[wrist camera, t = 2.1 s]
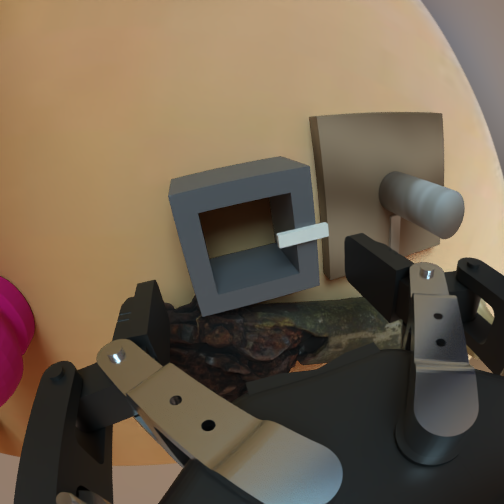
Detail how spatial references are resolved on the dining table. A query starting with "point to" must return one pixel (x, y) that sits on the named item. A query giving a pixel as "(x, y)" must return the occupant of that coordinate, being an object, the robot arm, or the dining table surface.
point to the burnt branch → (271, 339)
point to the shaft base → (382, 182)
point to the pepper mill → (13, 337)
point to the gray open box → (256, 259)
